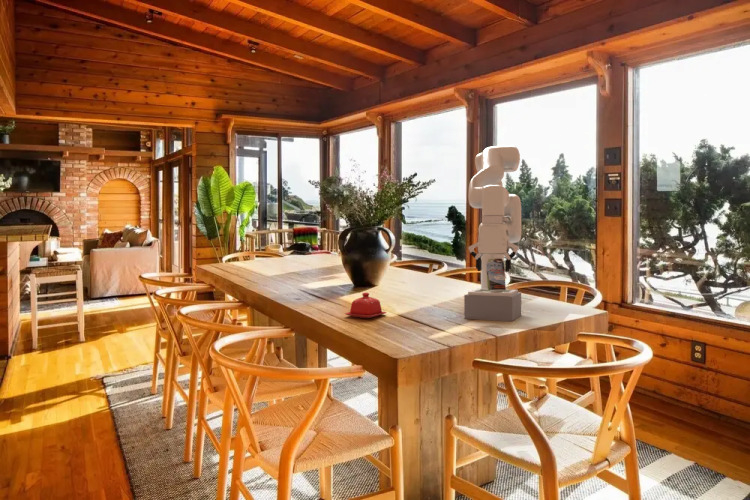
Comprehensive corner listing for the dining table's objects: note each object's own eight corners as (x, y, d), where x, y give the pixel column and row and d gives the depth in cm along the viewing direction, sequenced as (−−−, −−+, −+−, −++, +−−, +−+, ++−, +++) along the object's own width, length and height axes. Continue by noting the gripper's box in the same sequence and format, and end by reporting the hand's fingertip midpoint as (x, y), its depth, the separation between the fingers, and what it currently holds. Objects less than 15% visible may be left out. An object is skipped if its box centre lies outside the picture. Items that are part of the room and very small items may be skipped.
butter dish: (370, 319, 187) (369, 294, 187) (343, 317, 193) (343, 293, 193) (388, 315, 196) (388, 291, 196) (362, 313, 203) (362, 290, 203)
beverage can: (493, 293, 185) (492, 258, 185) (482, 292, 192) (482, 258, 192) (509, 293, 186) (509, 258, 186) (498, 292, 193) (498, 258, 194)
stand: (476, 312, 200) (476, 288, 200) (521, 315, 193) (521, 289, 193) (464, 318, 185) (464, 292, 185) (512, 321, 179) (512, 293, 178)
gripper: (520, 221, 188) (520, 271, 189) (471, 222, 196) (471, 270, 196) (516, 220, 182) (516, 272, 182) (465, 221, 189) (465, 271, 189)
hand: (493, 271), depth 189 cm, fingers open, 9 cm apart
